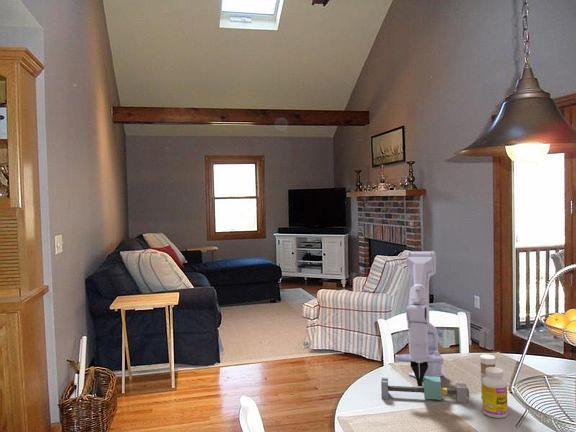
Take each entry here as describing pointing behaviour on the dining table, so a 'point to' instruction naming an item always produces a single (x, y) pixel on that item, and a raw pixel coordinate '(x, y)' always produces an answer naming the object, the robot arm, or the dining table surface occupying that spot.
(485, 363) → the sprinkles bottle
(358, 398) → the dining table surface
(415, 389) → the shaft
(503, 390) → the supplement bottle
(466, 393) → the grey cube
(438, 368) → the robot arm
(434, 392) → the sleeve
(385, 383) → the grey notched jaw block
